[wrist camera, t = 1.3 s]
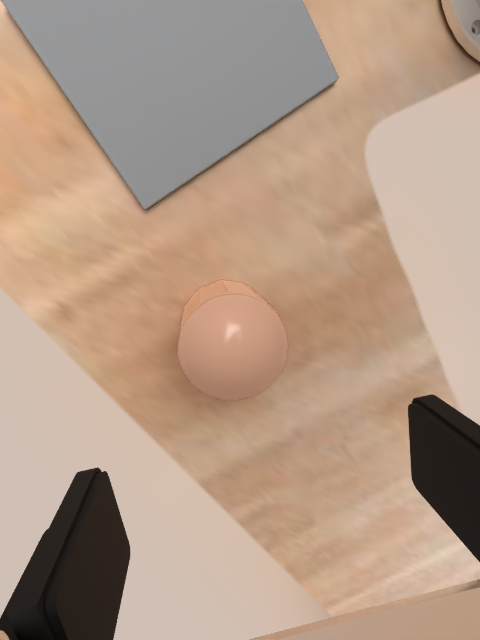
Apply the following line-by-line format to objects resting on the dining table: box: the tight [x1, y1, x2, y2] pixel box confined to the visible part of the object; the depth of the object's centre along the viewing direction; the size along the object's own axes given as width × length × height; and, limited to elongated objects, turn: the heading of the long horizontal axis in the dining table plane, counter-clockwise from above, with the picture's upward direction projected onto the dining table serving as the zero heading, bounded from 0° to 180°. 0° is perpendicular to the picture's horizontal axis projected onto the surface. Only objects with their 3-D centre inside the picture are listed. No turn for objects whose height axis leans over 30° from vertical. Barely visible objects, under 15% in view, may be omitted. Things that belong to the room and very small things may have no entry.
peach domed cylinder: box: [177, 280, 288, 401], centre depth 25 cm, size 7×7×6 cm
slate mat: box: [1, 0, 339, 210], centre depth 23 cm, size 16×14×1 cm
